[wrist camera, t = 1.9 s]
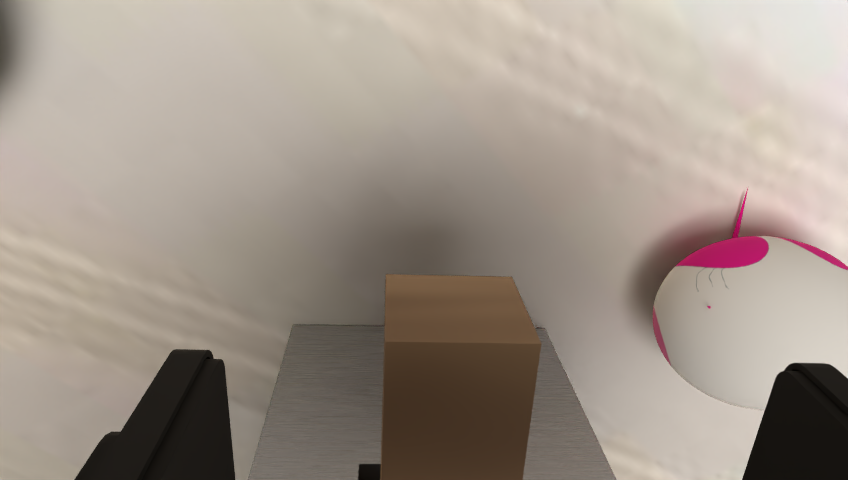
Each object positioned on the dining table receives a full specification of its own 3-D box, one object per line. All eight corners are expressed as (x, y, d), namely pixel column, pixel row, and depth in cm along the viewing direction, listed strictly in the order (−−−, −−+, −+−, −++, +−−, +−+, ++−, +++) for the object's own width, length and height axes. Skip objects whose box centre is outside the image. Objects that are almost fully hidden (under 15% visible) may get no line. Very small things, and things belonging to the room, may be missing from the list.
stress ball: (769, 217, 27) (903, 166, 20) (794, 405, 25) (949, 414, 18) (605, 212, 26) (689, 157, 19) (618, 405, 24) (716, 416, 18)
